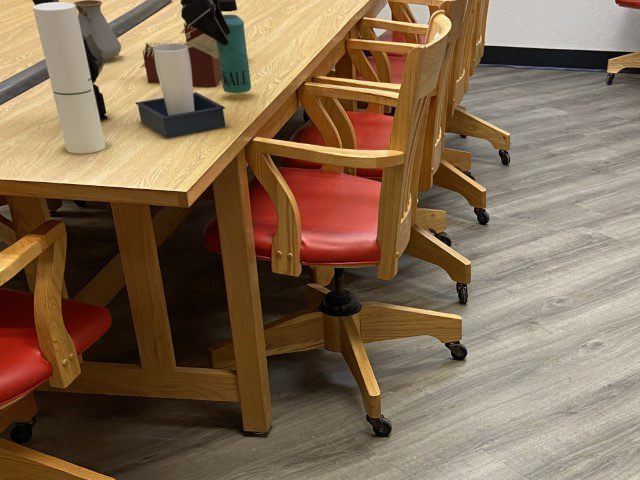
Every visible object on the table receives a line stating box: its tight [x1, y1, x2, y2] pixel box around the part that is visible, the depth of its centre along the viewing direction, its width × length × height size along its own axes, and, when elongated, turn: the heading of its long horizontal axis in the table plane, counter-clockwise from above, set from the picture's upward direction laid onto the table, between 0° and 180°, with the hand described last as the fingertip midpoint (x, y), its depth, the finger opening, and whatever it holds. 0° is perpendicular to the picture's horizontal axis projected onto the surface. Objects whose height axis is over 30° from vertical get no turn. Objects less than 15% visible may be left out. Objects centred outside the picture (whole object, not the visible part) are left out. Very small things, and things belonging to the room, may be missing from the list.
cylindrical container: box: [32, 1, 106, 155], centre depth 179 cm, size 7×7×25 cm
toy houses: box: [139, 21, 222, 88], centre depth 237 cm, size 45×20×10 cm, turn 1°
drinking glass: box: [153, 42, 195, 116], centre depth 195 cm, size 7×7×15 cm
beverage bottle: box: [216, 0, 252, 94], centre depth 210 cm, size 6×7×20 cm
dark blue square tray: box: [135, 91, 226, 139], centre depth 198 cm, size 13×13×4 cm
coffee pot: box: [72, 0, 122, 63], centre depth 232 cm, size 21×12×15 cm, turn 12°
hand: (228, 38), depth 197 cm, fingers open, 9 cm apart
